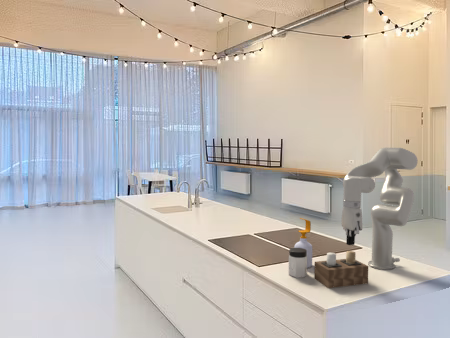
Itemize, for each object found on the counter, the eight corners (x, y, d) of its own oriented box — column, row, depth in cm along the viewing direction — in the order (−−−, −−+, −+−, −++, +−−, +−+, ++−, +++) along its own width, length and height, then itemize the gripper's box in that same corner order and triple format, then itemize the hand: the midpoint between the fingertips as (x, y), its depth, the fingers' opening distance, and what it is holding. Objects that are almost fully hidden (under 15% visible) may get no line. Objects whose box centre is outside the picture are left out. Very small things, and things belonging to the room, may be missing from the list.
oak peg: (351, 266, 175) (352, 250, 175) (356, 269, 171) (357, 253, 171) (344, 267, 174) (344, 251, 173) (349, 270, 170) (349, 253, 170)
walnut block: (352, 274, 180) (352, 257, 179) (367, 283, 169) (368, 265, 168) (314, 278, 175) (314, 260, 174) (328, 288, 163) (328, 269, 163)
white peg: (332, 268, 172) (333, 252, 172) (337, 271, 169) (337, 254, 168) (324, 269, 171) (325, 253, 171) (329, 272, 167) (329, 255, 167)
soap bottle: (290, 263, 197) (291, 217, 195) (305, 261, 200) (306, 215, 198) (300, 268, 188) (300, 220, 187) (315, 266, 192) (316, 219, 190)
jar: (284, 273, 181) (285, 249, 180) (296, 270, 186) (297, 246, 185) (298, 279, 174) (299, 253, 173) (310, 275, 179) (311, 250, 178)
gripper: (369, 206, 164) (367, 248, 165) (349, 202, 179) (348, 240, 180) (354, 207, 162) (353, 249, 163) (335, 202, 177) (334, 241, 178)
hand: (350, 244), depth 171 cm, fingers closed
